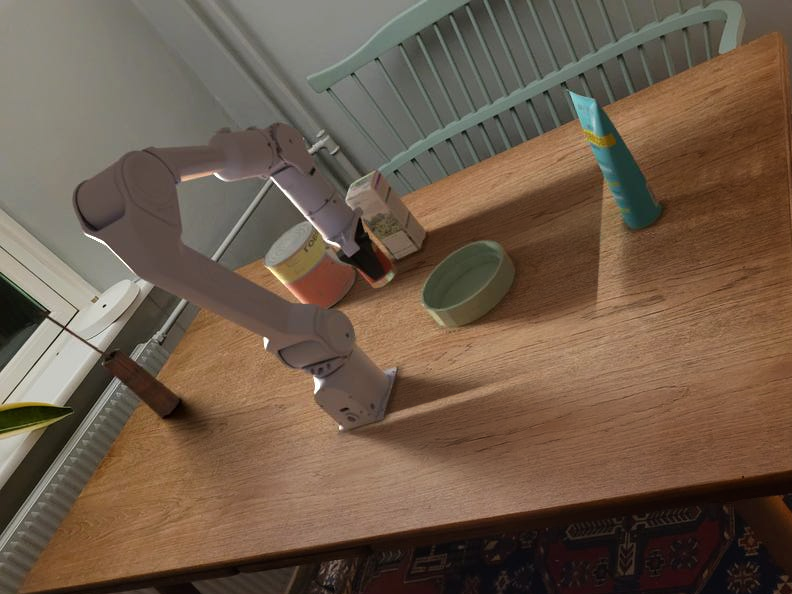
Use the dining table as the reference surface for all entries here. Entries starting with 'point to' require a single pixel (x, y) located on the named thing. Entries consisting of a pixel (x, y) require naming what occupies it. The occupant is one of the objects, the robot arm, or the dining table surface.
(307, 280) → the canned food
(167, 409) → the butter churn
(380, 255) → the tin can
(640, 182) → the tube
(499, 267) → the bowl
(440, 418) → the dining table surface
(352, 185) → the syrup box
